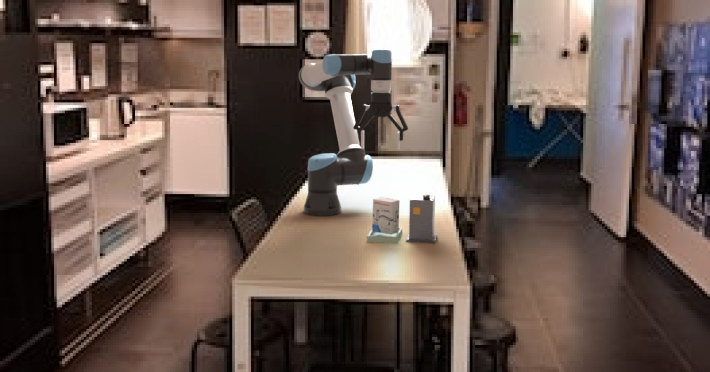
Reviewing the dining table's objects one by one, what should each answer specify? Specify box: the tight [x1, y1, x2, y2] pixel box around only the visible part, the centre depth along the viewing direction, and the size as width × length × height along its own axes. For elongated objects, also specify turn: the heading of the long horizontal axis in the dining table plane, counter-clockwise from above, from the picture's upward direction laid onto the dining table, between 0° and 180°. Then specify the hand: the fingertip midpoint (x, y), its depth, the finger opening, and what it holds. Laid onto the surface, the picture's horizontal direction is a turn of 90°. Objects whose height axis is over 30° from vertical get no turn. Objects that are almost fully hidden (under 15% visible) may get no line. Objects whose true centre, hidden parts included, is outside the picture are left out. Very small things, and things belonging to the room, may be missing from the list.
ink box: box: [371, 196, 400, 235], centre depth 276 cm, size 9×5×12 cm, turn 52°
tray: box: [366, 227, 403, 244], centre depth 278 cm, size 10×14×2 cm
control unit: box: [405, 194, 438, 244], centre depth 274 cm, size 10×10×16 cm
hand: (380, 149), depth 293 cm, fingers open, 13 cm apart
